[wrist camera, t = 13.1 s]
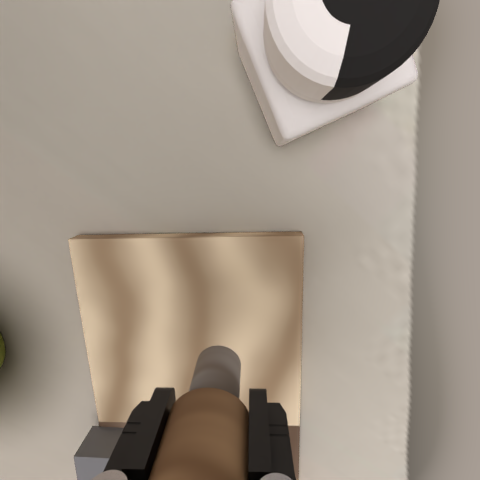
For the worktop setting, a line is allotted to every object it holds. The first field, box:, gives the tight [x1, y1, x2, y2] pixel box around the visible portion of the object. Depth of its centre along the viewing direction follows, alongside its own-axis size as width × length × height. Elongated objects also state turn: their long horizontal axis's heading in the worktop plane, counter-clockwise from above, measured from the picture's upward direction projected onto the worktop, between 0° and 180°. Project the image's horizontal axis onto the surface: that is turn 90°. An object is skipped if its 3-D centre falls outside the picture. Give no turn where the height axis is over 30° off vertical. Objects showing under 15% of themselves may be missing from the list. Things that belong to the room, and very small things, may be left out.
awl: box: [148, 345, 249, 480], centre depth 11 cm, size 3×3×10 cm
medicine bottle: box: [230, 0, 439, 146], centre depth 16 cm, size 7×7×12 cm
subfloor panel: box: [68, 231, 304, 480], centre depth 27 cm, size 18×26×2 cm
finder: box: [74, 426, 124, 480], centre depth 27 cm, size 8×5×3 cm, turn 89°
